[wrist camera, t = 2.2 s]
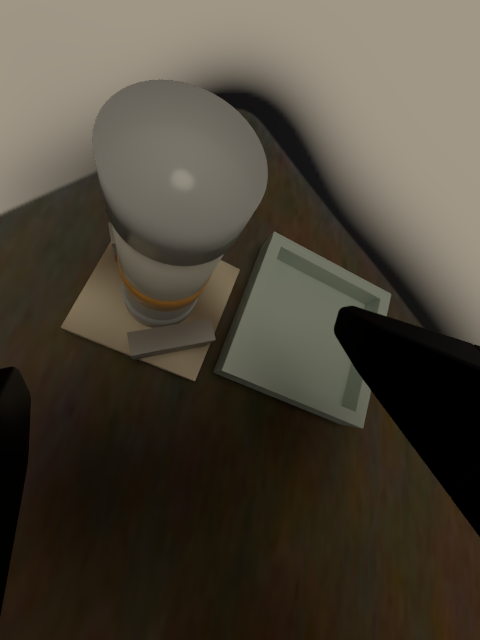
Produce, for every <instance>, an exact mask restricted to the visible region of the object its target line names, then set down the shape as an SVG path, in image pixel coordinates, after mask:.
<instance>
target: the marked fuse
mask: <svg viewBox="0 0 480 640" xmlns="http://www.w3.org/2000/svg"><path fill="white" fill-rule="evenodd" d="M92 143H93V153H94V157H95V162H96V167H97V172H98V177H99V182H100V186H101V191H102V196H103V201H104V205H105V209H106V213H107V215H108V218H109V220H110V222H111V224H112V228H113V234H114V239H115V244H116V250H117V262H118V267H119V272H120V277H121V281H122V284H121V285H122V292H123V297H124V302H125V305H126V308H127V310H128V312H129V313H130V314H131V316H132V317H133V318H134V319H135V320H136V321H138V322H139V323H141V324H142V325H145V326H147V327H150V328H157V327H163V326H169V325H175V324H179V323H181V322H182V321H183V320H185V319H186V317H187V316H188V315H189V314H190V312H191V310H192V309H193V307H194V306H195V304H196V302H197V300H198V297H199V296H200V294H201V293H202V291H203V290H204V288H205V286H206V285H207V283H208V281H209V280H210V277H211V275H212V273H213V271H214V269H215V268H216V266H217V265H218V263H219V261H220V260H221V258H222V256H223V255H224V253H225V252H227V251H228V250H229V249H230V248H231V246H232V245H233V244H234V243H235V241H236V240H237V238H238V237H239V235H240V233H241V232H242V230H243V229H244V227H245V226H246V224H247V223H248V221H249V219H250V218H251V216H252V215H253V213H254V212H255V210H256V208H257V207H258V205H259V204H260V202H261V200H262V198H263V195H264V193H265V190H266V185H267V178H268V170H267V161H266V156H265V153H264V150H263V147H262V145H261V143H260V140H259V138H258V137H257V135H256V133H255V132H254V130H253V128H252V127H251V126H250V125H249V123H248V122H247V121H246V120H245V118H244V117H243V116H242V115H241V114H240V113H239V112H238V111H237V110H236V109H234V108H233V107H232V106H231V105H229V104H228V103H227V102H226V101H224V100H223V99H221V98H219V97H218V96H216V95H215V94H213V93H211V92H209V91H206V90H204V89H202V88H199V87H197V86H194V85H191V84H187V83H184V82H178V81H172V80H149V81H144V82H139V83H136V84H133V85H130V86H128V87H126V88H124V89H121V90H120V91H118V92H117V93H116V94H114V95H113V96H112V97H111V98H110V99H109V100H108V101H107V102H106V103H105V104H104V105H103V107H102V108H101V110H100V111H99V113H98V116H97V118H96V120H95V124H94V128H93V137H92Z"/></svg>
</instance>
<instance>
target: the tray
mask: <svg viewBox="0 0 480 640" xmlns="http://www.w3.org/2000/svg"><path fill="white" fill-rule="evenodd" d="M390 297H391V294H390V293H388V292H386V291H385V290H383V289H381V288H379V287H377V286H375V285H373V284H371V283H370V282H368V281H366V280H364V279H362V278H360V277H358V276H356V275H355V274H353V273H351V272H349V271H347V270H345V269H343V268H342V267H340V266H338V265H336V264H334V263H332V262H330V261H328V260H327V259H325V258H323V257H321V256H319V255H317V254H315V253H313V252H312V251H310V250H308V249H306V248H304V247H302V246H300V245H299V244H297V243H295V242H293V241H291V240H289V239H287V238H285V237H284V236H282V235H280V234H278V233H276V232H273V234H272V235H271V236H270V237H269V238H268V240H267V241H266V242H265V243H264V244H263V246H262V247H261V249H260V252H259V254H258V257H257V259H256V262H255V264H254V267H253V270H252V272H251V275H250V277H249V280H248V283H247V285H246V288H245V290H244V293H243V296H242V298H241V301H240V303H239V306H238V308H237V311H236V314H235V316H234V319H233V321H232V324H231V327H230V329H229V332H228V334H227V337H226V339H225V342H224V345H223V347H222V350H221V352H220V355H219V358H218V360H217V363H216V365H215V368H214V370H213V373H216V374H218V375H220V376H223V377H225V378H228V379H230V380H233V381H235V382H238V383H240V384H242V385H245V386H247V387H250V388H252V389H255V390H257V391H260V392H262V393H264V394H267V395H269V396H272V397H274V398H277V399H279V400H282V401H284V402H286V403H289V404H291V405H294V406H296V407H299V408H301V409H304V410H306V411H308V412H311V413H313V414H316V415H318V416H321V417H323V418H326V419H328V420H330V421H333V422H335V423H338V424H340V425H346V426H351V427H356V428H362V429H363V427H364V422H365V417H366V412H367V408H368V403H369V398H370V393H371V390H370V388H369V387H368V386H367V384H366V383H365V382H364V380H363V379H362V378H361V376H360V375H359V373H358V372H357V371H356V369H355V367H354V366H353V364H352V363H351V361H350V359H349V358H348V356H347V354H346V353H345V351H344V349H343V348H342V346H341V344H340V343H339V341H338V339H337V338H336V336H335V334H334V325H335V322H336V318H337V315H338V311H339V310H340V308H342V307H346V306H356V307H359V308H362V309H365V310H368V311H371V312H374V313H378V314H381V315H384V316H387V312H388V307H389V302H390Z"/></svg>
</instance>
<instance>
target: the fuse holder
mask: <svg viewBox="0 0 480 640" xmlns="http://www.w3.org/2000/svg"><path fill="white" fill-rule="evenodd" d="M108 224H109V230H110V236H111V242H110V244H109V245H108V247H107V249H106V251H105V252H104V254H103V256H102V257H101V259H100V261H99V263H98V264H97V266H96V268H95V269H94V271H93V273H92V275H91V276H90V278H89V280H88V281H87V283H86V285H85V287H84V288H83V290H82V292H81V293H80V295H79V297H78V299H77V300H76V302H75V304H74V305H73V307H72V309H71V311H70V312H69V314H68V316H67V317H66V319H65V321H64V323H63V324H62V326H61V328H62V329H63V330H65V331H67V332H69V333H72V334H74V335H77V336H79V337H82V338H84V339H87V340H90V341H92V342H95V343H97V344H100V345H102V346H105V347H107V348H110V349H112V350H115V351H117V352H120V353H122V354H125V355H127V356H130V357H131V358H132V360H140V361H142V362H145V363H147V364H150V365H153V366H155V367H158V368H160V369H163V370H165V371H168V372H170V373H173V374H175V375H178V376H180V377H183V378H185V379H188V380H190V381H195V380H196V378H197V375H198V373H199V370H200V368H201V365H202V363H203V360H204V358H205V355H206V353H207V350H208V348H209V345H210V343H212V342H213V341H215V340H216V339H215V335H214V333H215V330H216V328H217V326H218V323H219V321H220V318H221V316H222V313H223V311H224V308H225V306H226V303H227V301H228V298H229V296H230V293H231V291H232V288H233V286H234V283H235V281H236V278H237V276H238V273H239V271H240V269H238V268H236V267H234V266H232V265H230V264H228V263H226V262H223V261H221V260H220V261H219V263H218V265H217V266H216V268H215V269H214V271H213V273H212V275H211V277H210V280H209V281H208V283H207V285H206V286H205V288H204V290H203V291H202V293H201V294H200V296H199V297H198V300H197V302H196V304H195V306H194V307H193V309H192V310H191V312H190V314H189V315H188V316H187V317H186V319H185V320H183V321H182V322H181V323H179V324H175V325H169V326H163V327H157V328H150V327H147V326H145V325H142V324H141V323H139V322H138V321H136V320H135V319H134V318H133V317H132V316H131V314H130V313H129V312H128V310H127V308H126V305H125V302H124V297H123V292H122V285H121V284H122V281H121V277H120V272H119V267H118V262H117V250H116V244H115V239H114V234H113V228H112V224H111V223H108Z"/></svg>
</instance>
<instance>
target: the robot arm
mask: <svg viewBox="0 0 480 640" xmlns="http://www.w3.org/2000/svg"><path fill="white" fill-rule="evenodd" d="M334 334H335V336H336V338H337V339H338V341H339V343H340V344H341V346H342V348H343V349H344V351H345V353H346V354H347V356H348V358H349V359H350V361H351V363H352V364H353V366H354V367H355V369H356V371H357V372H358V373H359V375H360V376H361V378H362V379H363V380H364V382H365V383H366V384H367V386H368V387H369V388H370V390H371V391H372V392H373V394H374V395H375V396H376V398H377V399H378V400H379V402H380V403H381V404H382V406H383V407H384V409H385V410H386V411H387V413H388V414H389V415H390V417H391V418H392V419H393V421H394V422H395V423H396V425H397V426H398V427H399V429H400V430H401V431H402V433H403V434H404V435H405V437H406V438H407V439H408V441H409V442H410V443H411V445H412V446H413V447H414V449H415V450H416V451H417V453H418V454H419V456H420V457H421V458H422V460H423V461H424V462H425V464H426V465H427V466H428V468H429V469H430V470H431V472H432V473H433V474H434V476H435V477H436V478H437V480H438V481H439V482H440V484H441V485H442V486H443V488H444V489H445V490H446V492H447V493H448V494H449V496H450V497H451V499H452V500H453V502H454V503H455V504H456V506H457V507H458V508H459V510H460V511H461V512H462V514H463V515H464V516H465V518H466V519H467V520H468V522H469V523H470V524H471V526H472V527H473V528H474V530H475V531H476V532H477V534H478V535H479V537H480V346H478V345H473V344H471V343H468V342H465V341H462V340H459V339H455V338H453V337H450V336H446V335H443V334H440V333H437V332H434V331H431V330H427V329H424V328H421V327H418V326H415V325H412V324H409V323H406V322H403V321H399V320H396V319H393V318H390V317H387V316H384V315H381V314H378V313H374V312H371V311H368V310H365V309H362V308H359V307H356V306H346V307H342V308H340V310H339V311H338V315H337V318H336V322H335V325H334ZM30 409H31V397H30V392H29V390H28V388H27V386H26V384H25V381H24V379H23V377H22V375H21V373H20V371H19V370H18V369H17V368H16V367H7V368H2V369H0V615H1V610H2V604H3V599H4V593H5V588H6V582H7V576H8V571H9V565H10V560H11V554H12V549H13V543H14V538H15V532H16V527H17V521H18V515H19V510H20V504H21V499H22V493H23V488H24V482H25V477H26V471H27V464H28V453H29V431H30Z"/></svg>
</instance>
